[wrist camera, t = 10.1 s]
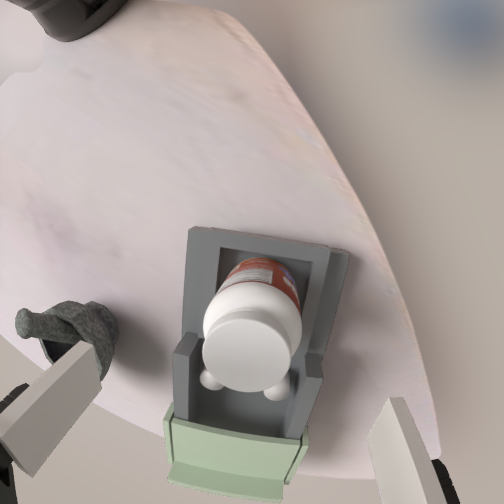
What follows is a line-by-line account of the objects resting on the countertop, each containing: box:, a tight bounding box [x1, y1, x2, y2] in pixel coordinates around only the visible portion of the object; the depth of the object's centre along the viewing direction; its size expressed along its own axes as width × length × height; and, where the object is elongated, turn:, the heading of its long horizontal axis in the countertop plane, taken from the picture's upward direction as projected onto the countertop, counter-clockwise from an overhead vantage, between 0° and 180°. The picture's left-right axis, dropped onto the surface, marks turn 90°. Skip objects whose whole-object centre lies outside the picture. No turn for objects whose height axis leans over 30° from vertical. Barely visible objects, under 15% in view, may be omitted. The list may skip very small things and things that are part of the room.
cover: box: [163, 402, 309, 503], centre depth 24 cm, size 9×15×6 cm, turn 82°
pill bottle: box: [202, 257, 302, 392], centre depth 19 cm, size 6×6×11 cm
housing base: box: [173, 226, 350, 440], centre depth 25 cm, size 24×14×6 cm, turn 172°
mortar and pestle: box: [15, 301, 119, 382], centre depth 24 cm, size 11×9×12 cm
